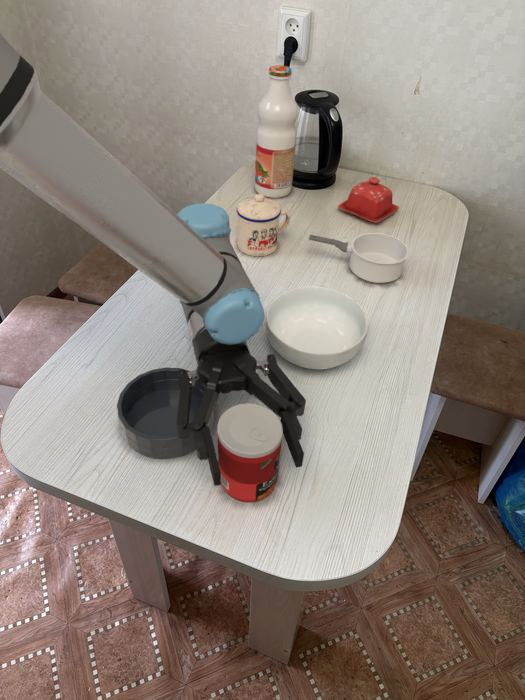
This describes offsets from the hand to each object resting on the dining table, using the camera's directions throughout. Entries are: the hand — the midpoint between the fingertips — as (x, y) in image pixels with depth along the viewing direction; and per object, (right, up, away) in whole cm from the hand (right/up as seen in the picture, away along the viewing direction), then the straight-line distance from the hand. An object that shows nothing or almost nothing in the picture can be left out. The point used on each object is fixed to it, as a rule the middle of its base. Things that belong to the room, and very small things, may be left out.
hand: (259, 469), depth 58 cm
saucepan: (+19, +31, +46) cm, 59 cm away
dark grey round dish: (-13, +3, +15) cm, 21 cm away
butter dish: (+26, +47, +64) cm, 84 cm away
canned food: (-2, -3, +9) cm, 10 cm away
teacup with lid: (0, +37, +51) cm, 63 cm away
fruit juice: (+3, +54, +70) cm, 89 cm away
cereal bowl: (+9, +14, +28) cm, 33 cm away
